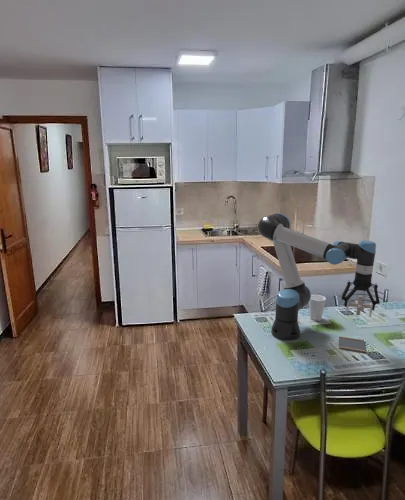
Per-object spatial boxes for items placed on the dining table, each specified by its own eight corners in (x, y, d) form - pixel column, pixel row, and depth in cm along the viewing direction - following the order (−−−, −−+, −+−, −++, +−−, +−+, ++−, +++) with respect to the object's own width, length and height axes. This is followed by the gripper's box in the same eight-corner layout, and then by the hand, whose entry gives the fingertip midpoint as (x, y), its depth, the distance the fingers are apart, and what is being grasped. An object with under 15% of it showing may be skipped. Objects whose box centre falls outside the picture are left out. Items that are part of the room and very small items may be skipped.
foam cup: (326, 321, 204) (327, 300, 201) (310, 321, 205) (311, 300, 201) (321, 314, 214) (322, 294, 211) (305, 314, 214) (307, 294, 211)
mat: (338, 348, 175) (339, 346, 174) (339, 337, 186) (339, 336, 185) (365, 353, 171) (365, 351, 170) (363, 341, 181) (364, 339, 181)
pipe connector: (371, 319, 173) (374, 300, 170) (350, 318, 174) (352, 299, 172) (365, 311, 182) (368, 293, 180) (345, 309, 184) (347, 291, 181)
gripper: (339, 272, 172) (334, 313, 178) (391, 277, 166) (384, 320, 171) (338, 267, 179) (333, 308, 185) (388, 272, 173) (381, 314, 178)
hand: (358, 314), depth 178 cm, fingers closed on pipe connector, 10 cm apart
